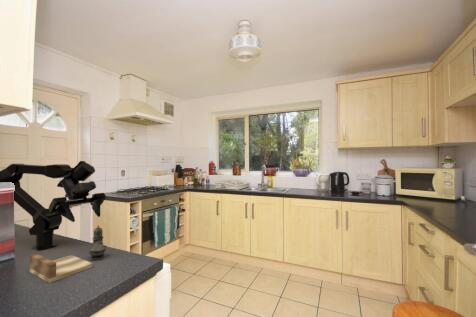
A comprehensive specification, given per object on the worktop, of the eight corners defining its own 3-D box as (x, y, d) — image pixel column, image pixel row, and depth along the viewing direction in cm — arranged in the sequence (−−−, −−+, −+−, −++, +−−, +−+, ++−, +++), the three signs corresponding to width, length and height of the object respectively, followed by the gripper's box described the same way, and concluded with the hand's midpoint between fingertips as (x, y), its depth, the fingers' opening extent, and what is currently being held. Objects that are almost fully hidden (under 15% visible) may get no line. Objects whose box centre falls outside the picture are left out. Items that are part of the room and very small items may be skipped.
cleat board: (29, 271, 73) (29, 255, 73) (71, 258, 84) (71, 244, 84) (49, 283, 66) (49, 265, 67) (92, 266, 77) (92, 251, 77)
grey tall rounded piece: (86, 262, 80) (87, 228, 81) (90, 256, 86) (90, 224, 86) (105, 259, 83) (106, 226, 83) (107, 253, 88) (108, 222, 88)
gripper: (52, 176, 83) (67, 209, 77) (104, 174, 99) (119, 201, 94) (42, 196, 87) (55, 229, 81) (93, 191, 103) (107, 218, 97)
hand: (87, 218), depth 88 cm, fingers open, 9 cm apart
